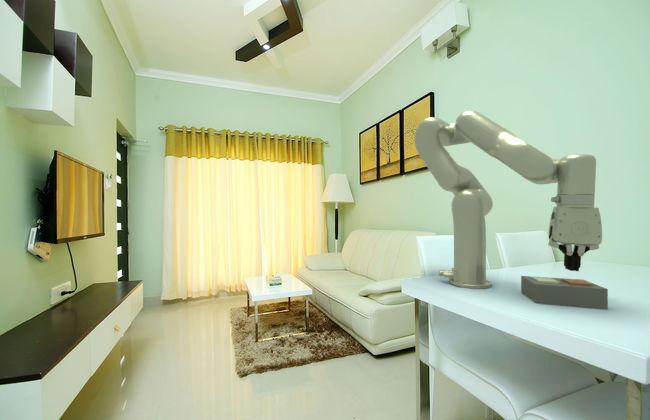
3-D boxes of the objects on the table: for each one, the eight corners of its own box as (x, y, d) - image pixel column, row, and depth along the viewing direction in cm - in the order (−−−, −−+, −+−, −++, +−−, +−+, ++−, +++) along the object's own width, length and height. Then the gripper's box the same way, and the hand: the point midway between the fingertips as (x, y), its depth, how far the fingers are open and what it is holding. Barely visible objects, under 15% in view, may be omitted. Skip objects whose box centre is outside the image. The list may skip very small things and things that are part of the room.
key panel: (535, 303, 73) (535, 284, 73) (521, 292, 82) (521, 275, 82) (607, 309, 69) (607, 289, 69) (583, 297, 78) (583, 279, 78)
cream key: (538, 292, 75) (538, 280, 75) (531, 288, 79) (531, 276, 79) (559, 294, 74) (559, 281, 74) (551, 289, 78) (551, 278, 78)
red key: (570, 294, 73) (570, 282, 73) (561, 289, 77) (561, 278, 77) (592, 296, 72) (592, 283, 72) (581, 291, 76) (581, 279, 76)
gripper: (548, 200, 73) (545, 270, 74) (620, 202, 69) (616, 276, 69) (536, 201, 81) (533, 264, 81) (600, 202, 76) (597, 269, 77)
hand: (571, 269), depth 75 cm, fingers closed
